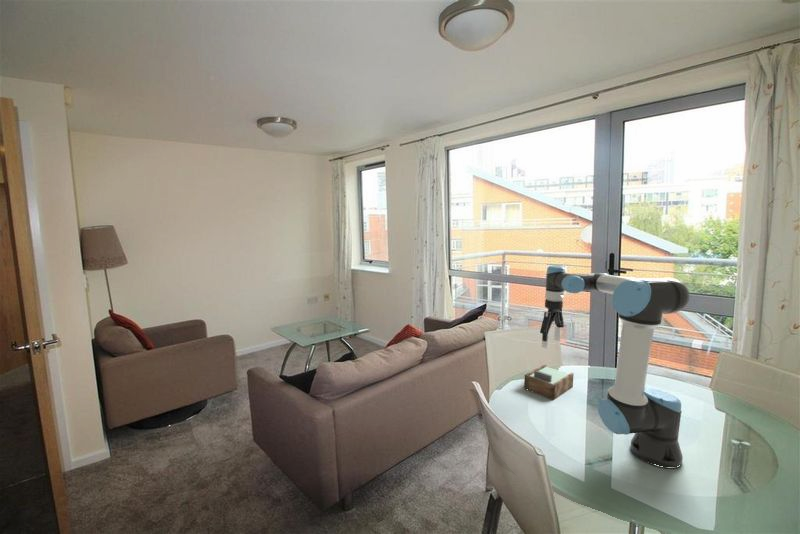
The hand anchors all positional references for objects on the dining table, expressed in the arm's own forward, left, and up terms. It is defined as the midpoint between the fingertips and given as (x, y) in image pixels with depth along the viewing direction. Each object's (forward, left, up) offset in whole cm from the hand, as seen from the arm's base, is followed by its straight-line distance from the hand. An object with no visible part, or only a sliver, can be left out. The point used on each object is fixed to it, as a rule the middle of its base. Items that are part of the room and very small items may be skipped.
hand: (551, 343), depth 169 cm
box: (+7, +4, -25) cm, 27 cm away
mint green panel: (+7, +4, -20) cm, 21 cm away
